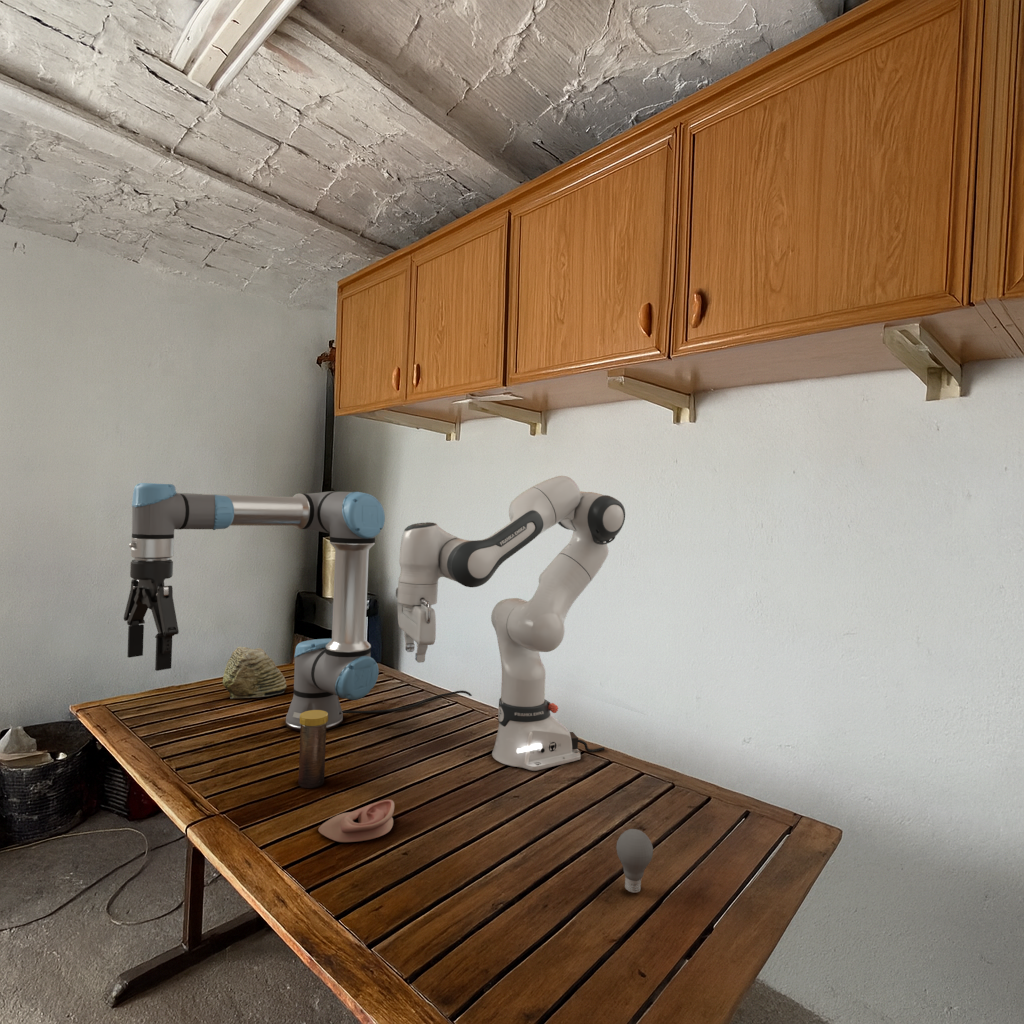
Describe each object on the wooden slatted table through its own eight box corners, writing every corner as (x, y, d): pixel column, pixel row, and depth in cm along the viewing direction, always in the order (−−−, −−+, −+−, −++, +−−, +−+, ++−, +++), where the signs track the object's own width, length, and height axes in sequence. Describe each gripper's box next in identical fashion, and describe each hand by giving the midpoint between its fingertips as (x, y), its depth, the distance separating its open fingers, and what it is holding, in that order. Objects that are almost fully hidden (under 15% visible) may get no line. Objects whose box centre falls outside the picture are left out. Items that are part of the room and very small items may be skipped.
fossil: (218, 695, 195) (220, 647, 195) (278, 685, 208) (279, 640, 207) (228, 703, 189) (230, 653, 188) (289, 692, 201) (290, 645, 201)
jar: (306, 776, 143) (308, 711, 143) (328, 779, 142) (331, 713, 142) (293, 786, 138) (296, 719, 138) (316, 789, 137) (319, 721, 137)
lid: (308, 715, 143) (308, 708, 143) (332, 718, 142) (333, 711, 142) (294, 724, 137) (294, 717, 137) (319, 727, 136) (320, 720, 136)
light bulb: (610, 879, 108) (613, 822, 108) (644, 879, 109) (647, 822, 109) (619, 902, 102) (622, 840, 102) (655, 901, 103) (658, 840, 103)
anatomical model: (310, 816, 117) (339, 789, 129) (309, 837, 117) (338, 808, 129) (377, 827, 115) (401, 798, 126) (376, 848, 115) (400, 818, 126)
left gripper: (108, 554, 134) (104, 654, 134) (159, 565, 118) (155, 678, 119) (146, 552, 140) (143, 648, 140) (199, 563, 124) (195, 671, 124)
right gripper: (444, 602, 133) (441, 667, 134) (420, 588, 152) (417, 645, 152) (415, 602, 131) (412, 669, 131) (394, 588, 150) (391, 646, 150)
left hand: (148, 662), depth 129 cm, fingers open, 13 cm apart
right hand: (414, 656), depth 142 cm, fingers open, 8 cm apart
